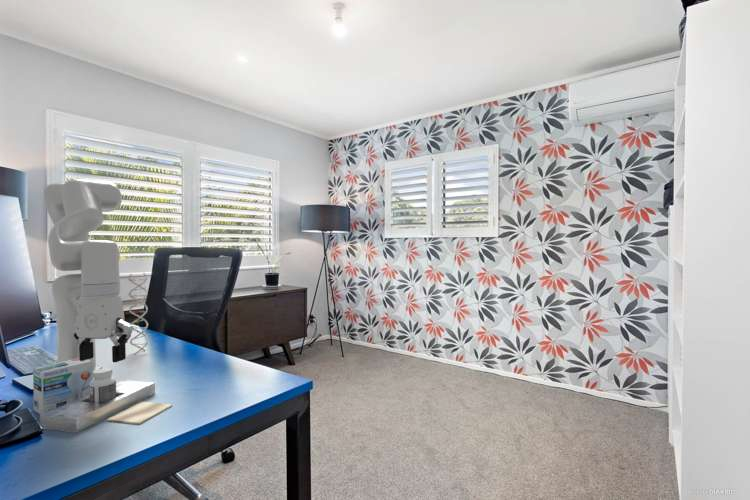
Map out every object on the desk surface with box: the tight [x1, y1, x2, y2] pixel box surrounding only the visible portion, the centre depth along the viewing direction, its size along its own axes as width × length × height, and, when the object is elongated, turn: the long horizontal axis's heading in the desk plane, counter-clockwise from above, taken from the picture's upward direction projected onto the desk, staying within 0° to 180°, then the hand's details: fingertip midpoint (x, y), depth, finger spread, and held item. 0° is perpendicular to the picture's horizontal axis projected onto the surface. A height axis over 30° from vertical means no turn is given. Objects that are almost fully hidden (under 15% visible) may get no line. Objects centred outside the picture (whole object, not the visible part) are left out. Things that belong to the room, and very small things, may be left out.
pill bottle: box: [89, 367, 117, 404], centre depth 95 cm, size 5×5×10 cm
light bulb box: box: [32, 358, 94, 415], centre depth 97 cm, size 11×7×11 cm, turn 148°
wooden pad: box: [106, 401, 173, 425], centre depth 93 cm, size 9×10×1 cm
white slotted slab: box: [39, 379, 156, 434], centre depth 95 cm, size 10×22×3 cm, turn 168°
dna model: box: [127, 272, 149, 356], centre depth 144 cm, size 7×6×30 cm
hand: (102, 360), depth 95 cm, fingers open, 9 cm apart
